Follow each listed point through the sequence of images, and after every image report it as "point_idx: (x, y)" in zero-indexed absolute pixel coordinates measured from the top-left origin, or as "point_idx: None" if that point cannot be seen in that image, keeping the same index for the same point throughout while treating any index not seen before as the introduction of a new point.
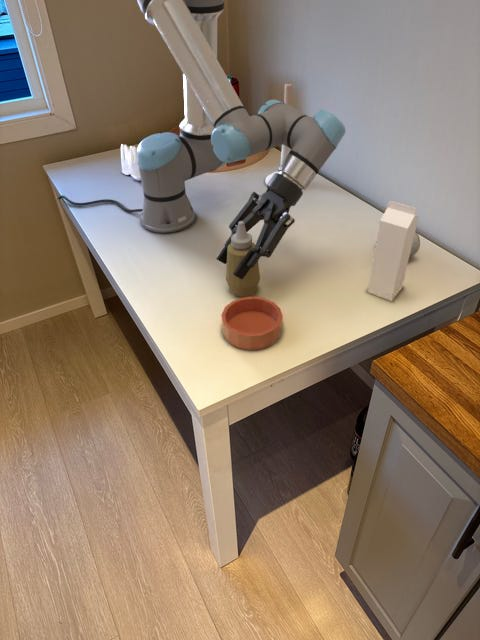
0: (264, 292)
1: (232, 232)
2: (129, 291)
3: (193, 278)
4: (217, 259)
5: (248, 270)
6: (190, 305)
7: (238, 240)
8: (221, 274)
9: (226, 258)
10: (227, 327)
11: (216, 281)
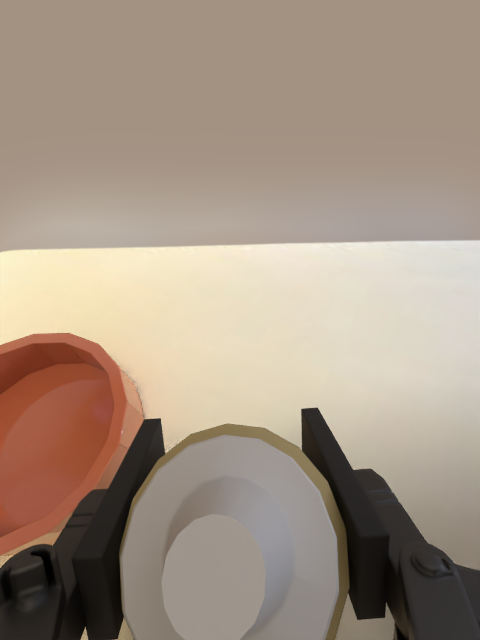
0: None
1: (422, 551)
2: (373, 248)
3: (379, 395)
4: (306, 409)
5: None
6: (254, 338)
7: (190, 479)
8: None
9: None
10: (41, 334)
11: None
